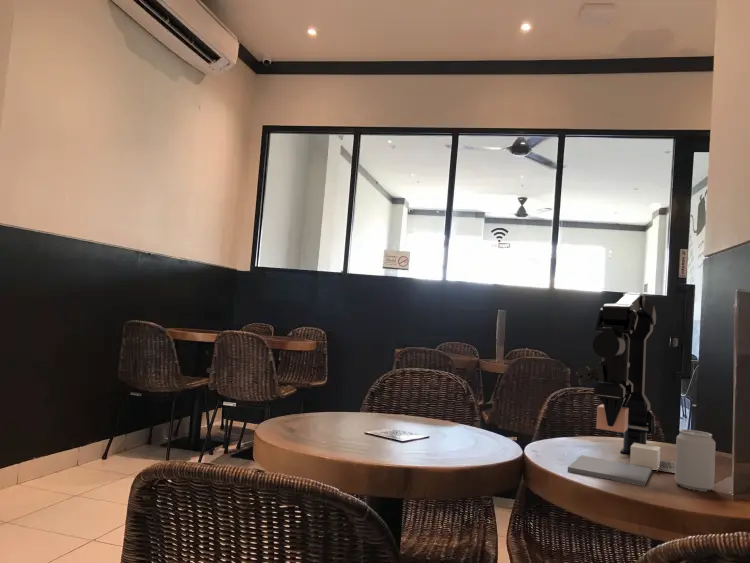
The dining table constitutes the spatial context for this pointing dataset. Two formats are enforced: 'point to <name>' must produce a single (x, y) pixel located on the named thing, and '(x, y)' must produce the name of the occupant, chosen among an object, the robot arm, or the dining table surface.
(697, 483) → the can
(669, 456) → the dining table surface
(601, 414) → the brick terracotta
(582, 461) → the baseplate
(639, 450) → the brick cream
